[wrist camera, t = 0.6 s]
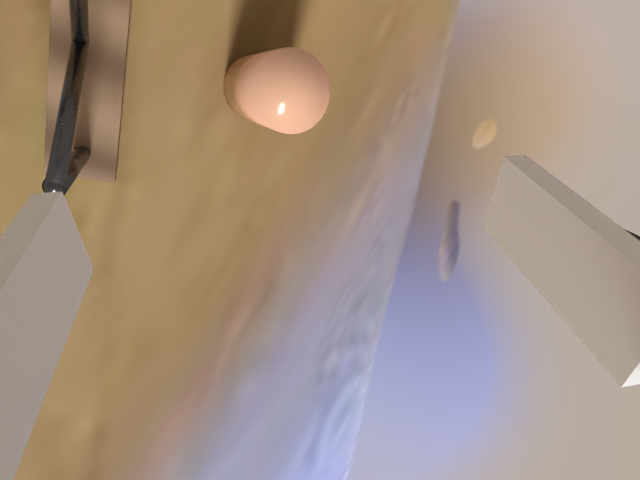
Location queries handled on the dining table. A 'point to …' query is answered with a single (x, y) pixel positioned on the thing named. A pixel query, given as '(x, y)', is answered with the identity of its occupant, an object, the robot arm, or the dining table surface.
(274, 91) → the peach rounded cylinder
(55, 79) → the wire base
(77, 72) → the bent wire
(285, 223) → the dining table surface
